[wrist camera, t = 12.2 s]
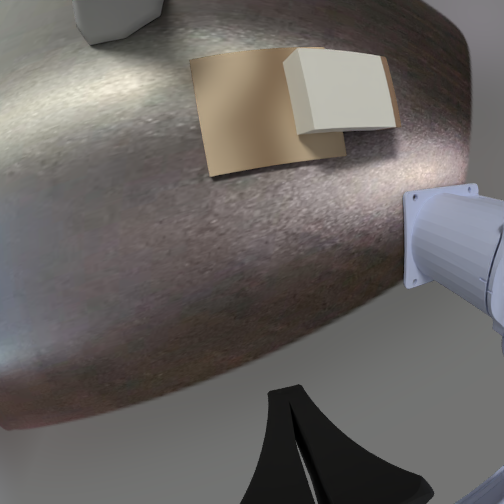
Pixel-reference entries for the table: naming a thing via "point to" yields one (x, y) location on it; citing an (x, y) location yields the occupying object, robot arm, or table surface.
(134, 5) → the flask
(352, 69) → the cream slab
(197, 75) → the cork mat
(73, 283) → the table surface
